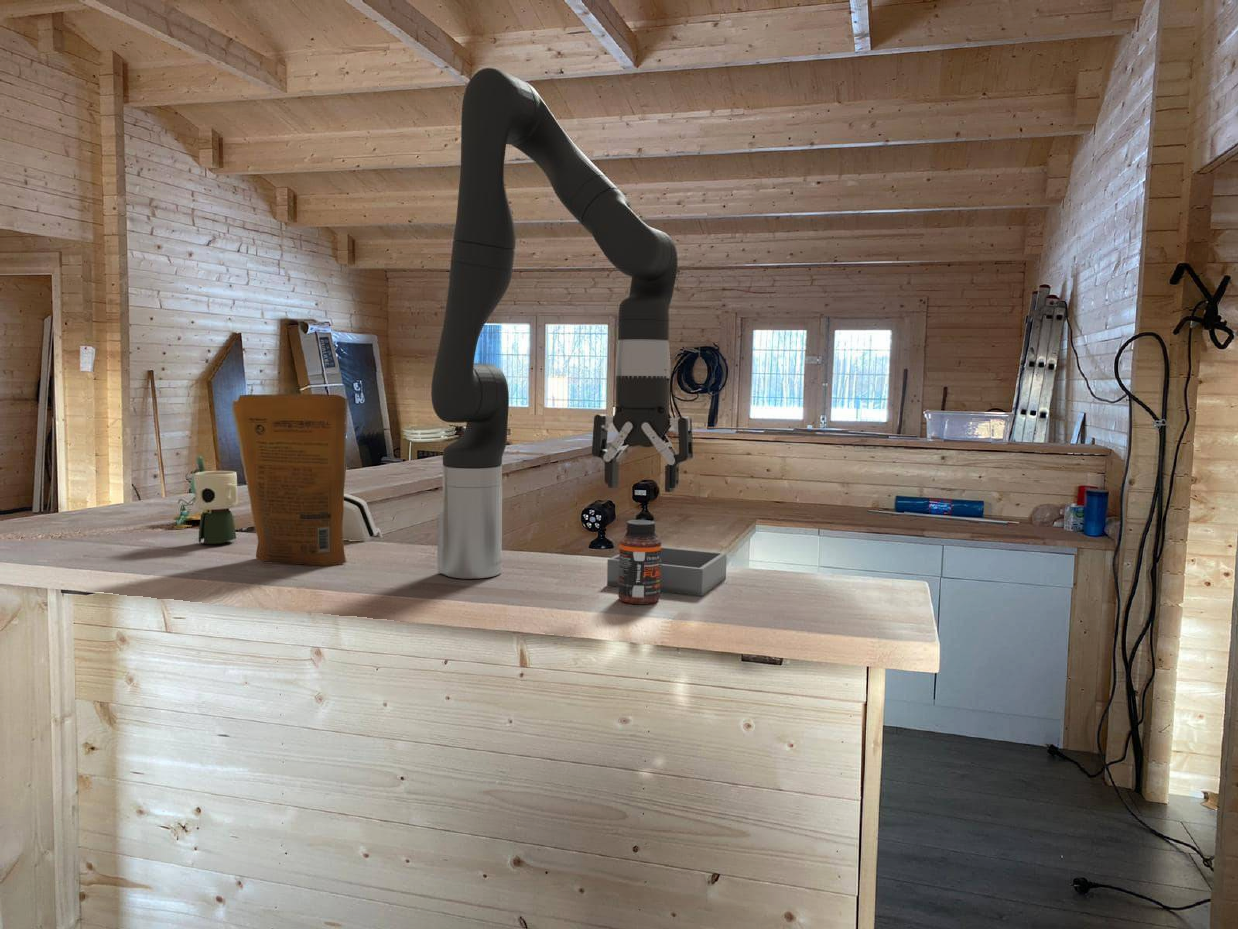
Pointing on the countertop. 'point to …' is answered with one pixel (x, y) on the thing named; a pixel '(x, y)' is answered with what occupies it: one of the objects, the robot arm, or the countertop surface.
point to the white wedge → (358, 520)
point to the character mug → (216, 505)
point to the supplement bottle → (639, 563)
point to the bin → (682, 571)
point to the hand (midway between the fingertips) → (641, 489)
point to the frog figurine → (184, 513)
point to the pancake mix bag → (295, 474)
